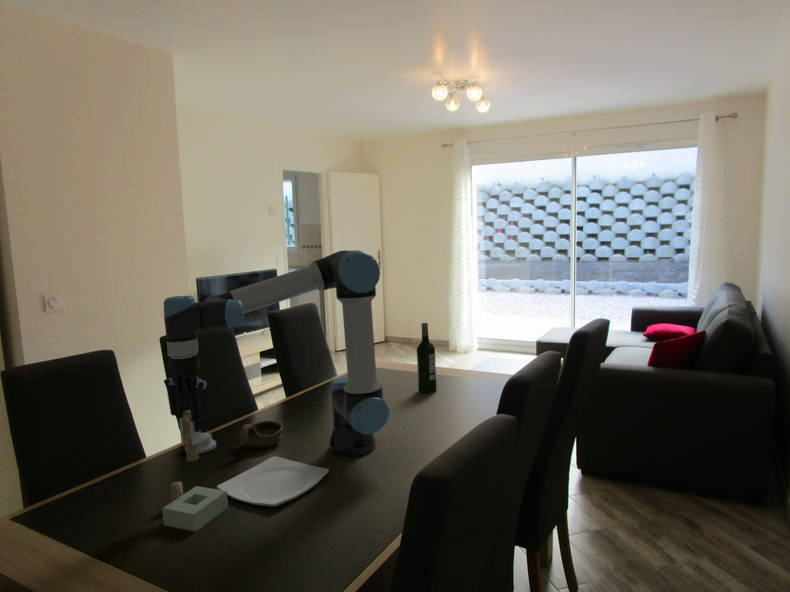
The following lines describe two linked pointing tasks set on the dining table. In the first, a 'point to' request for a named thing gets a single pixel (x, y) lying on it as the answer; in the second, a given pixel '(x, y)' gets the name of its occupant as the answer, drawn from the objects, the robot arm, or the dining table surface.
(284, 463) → the plate
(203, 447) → the mechanical component
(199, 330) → the robot arm
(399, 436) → the dining table surface
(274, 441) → the brown mug
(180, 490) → the short dowel
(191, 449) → the long dowel
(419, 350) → the wine bottle
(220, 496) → the hole block
